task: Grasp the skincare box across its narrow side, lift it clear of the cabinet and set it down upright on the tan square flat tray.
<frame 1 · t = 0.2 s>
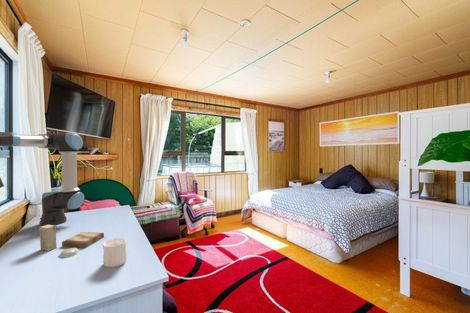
tan square flat tray: (84, 241, 125), on the cabinet
trinket dish: (69, 254, 111), on the cabinet
cup: (115, 262, 102), on the cabinet
skincare box: (48, 249, 116), on the cabinet
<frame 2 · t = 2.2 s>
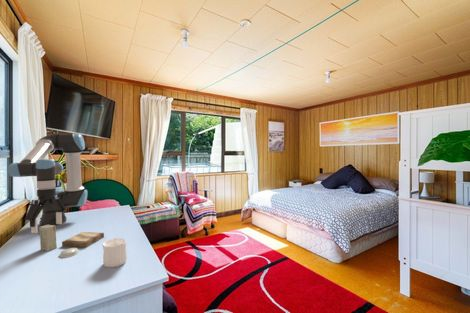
hand: (47, 228, 115), 11 cm above the cabinet, fingers open, 13 cm apart
nothing on the cabinet moved.
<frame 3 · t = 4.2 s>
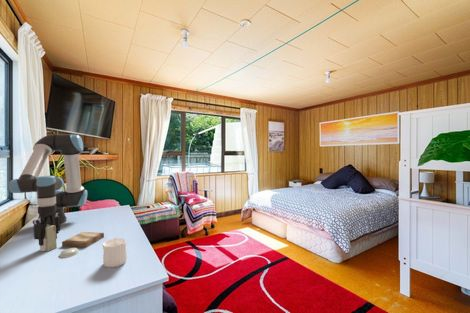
hand: (48, 248, 116), 0 cm above the cabinet, fingers closed on skincare box, 5 cm apart
skincare box: (48, 249, 116), on the cabinet, touching gripper
everything else where it was.
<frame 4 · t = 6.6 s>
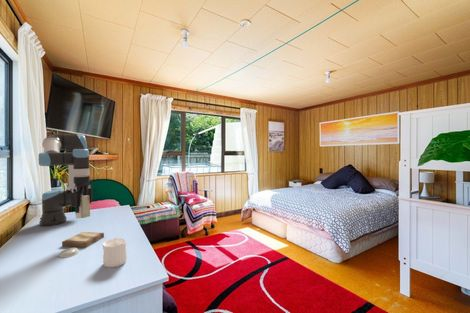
hand: (82, 216, 124), 15 cm above the cabinet, fingers closed on skincare box, 5 cm apart
skincare box: (82, 217, 124), point 14 cm above the cabinet, touching gripper
everything else where it was.
when the fingers open (5 cm above the cabinet, at t = 9.0 s): skincare box drops 1 cm, resting on tan square flat tray.
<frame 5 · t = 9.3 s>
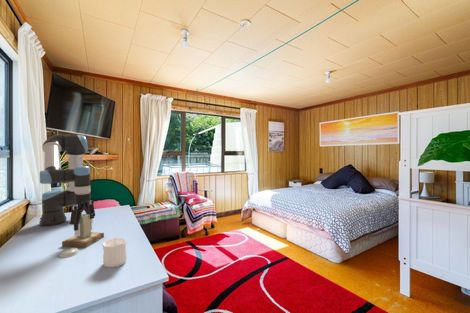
hand: (83, 232, 125), 5 cm above the cabinet, fingers open, 8 cm apart
skincare box: (84, 236, 125), point 3 cm above the cabinet, touching tan square flat tray
everything else where it was.
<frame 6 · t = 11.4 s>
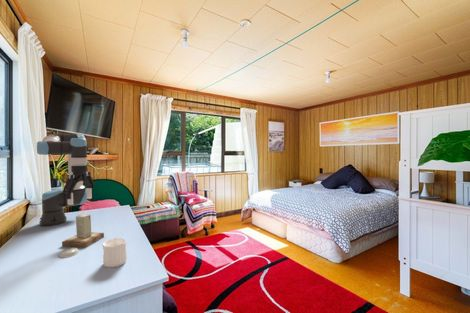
hand: (80, 201, 126), 23 cm above the cabinet, fingers open, 13 cm apart
nothing on the cabinet moved.
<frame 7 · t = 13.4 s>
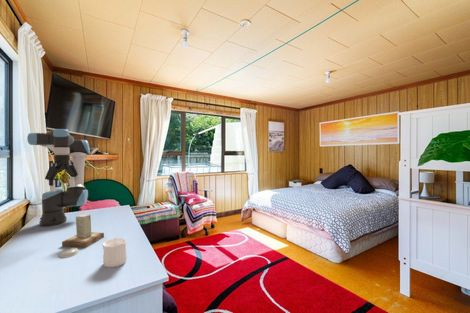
hand: (63, 188, 134), 29 cm above the cabinet, fingers open, 13 cm apart
nothing on the cabinet moved.
at the end: skincare box inside the target area on the tan square flat tray (0.1 cm from its centre), point 2.8 cm above the tan square flat tray's base; skincare box tilted 0°; the gripper is holding nothing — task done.
